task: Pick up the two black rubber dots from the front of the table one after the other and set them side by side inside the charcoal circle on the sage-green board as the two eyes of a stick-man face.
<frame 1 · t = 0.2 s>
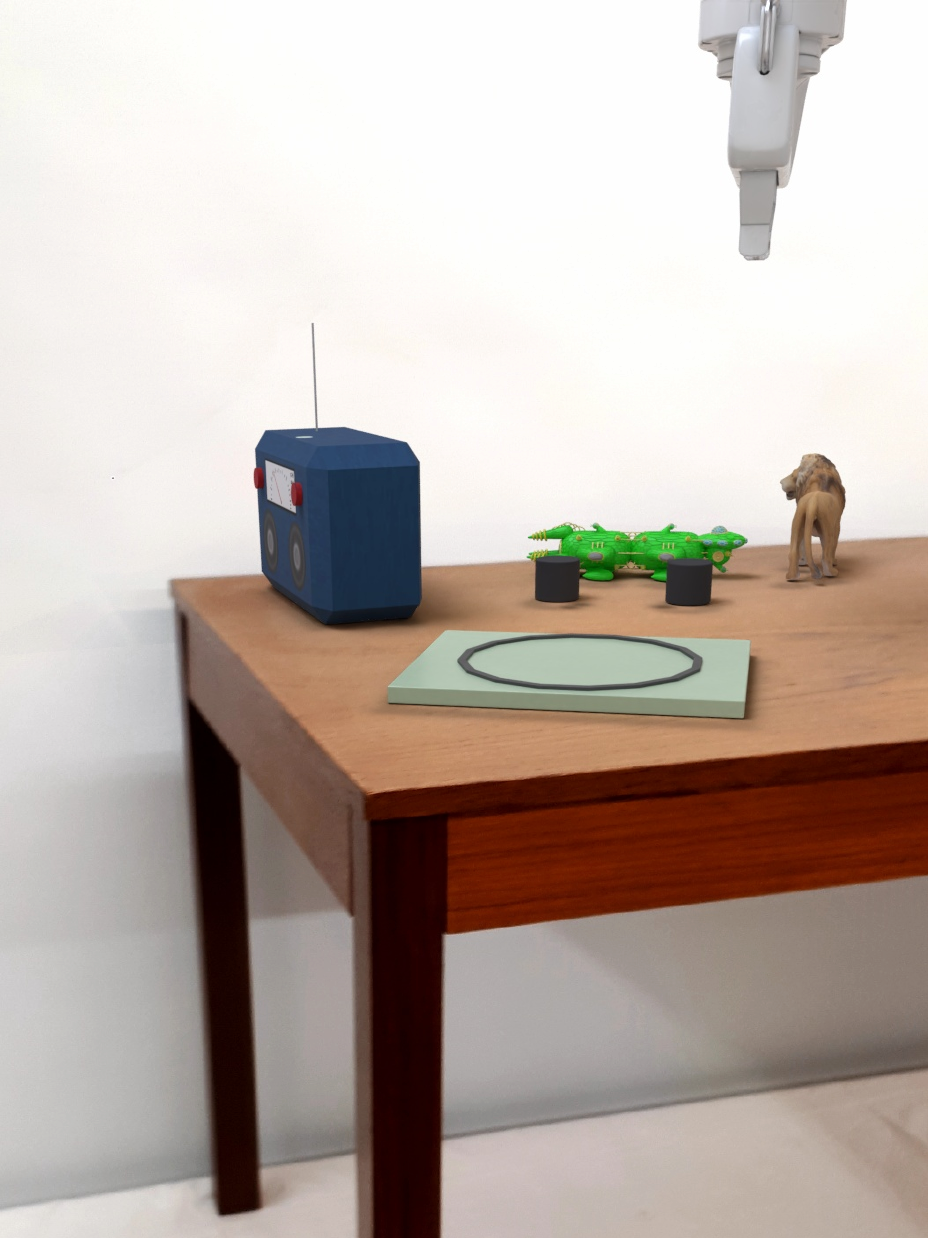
hand: (754, 259, 96), 24 cm above the table, tool pointing down, fingers open, 8 cm apart
radio: (335, 604, 114), on the table
eye dot 2: (687, 601, 112), on the table
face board: (579, 677, 89), on the table
green toy spaceship: (634, 578, 123), on the table
lion figurine: (806, 572, 124), on the table
eye dot 1: (556, 598, 114), on the table
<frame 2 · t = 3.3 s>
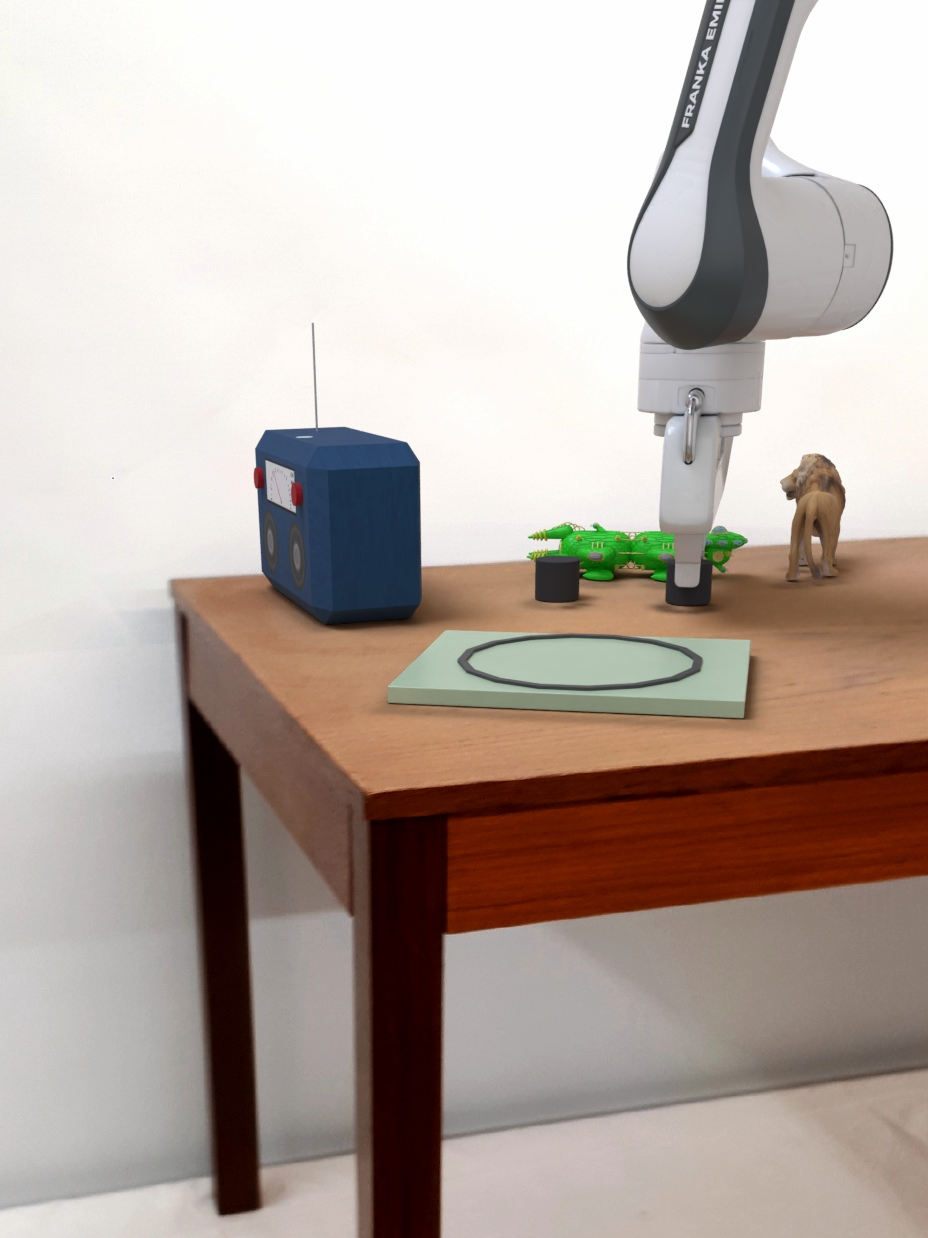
hand: (689, 580, 111), 2 cm above the table, tool pointing down, fingers closed on eye dot 2, 3 cm apart
eye dot 2: (687, 601, 112), on the table, touching gripper
everything else where it was.
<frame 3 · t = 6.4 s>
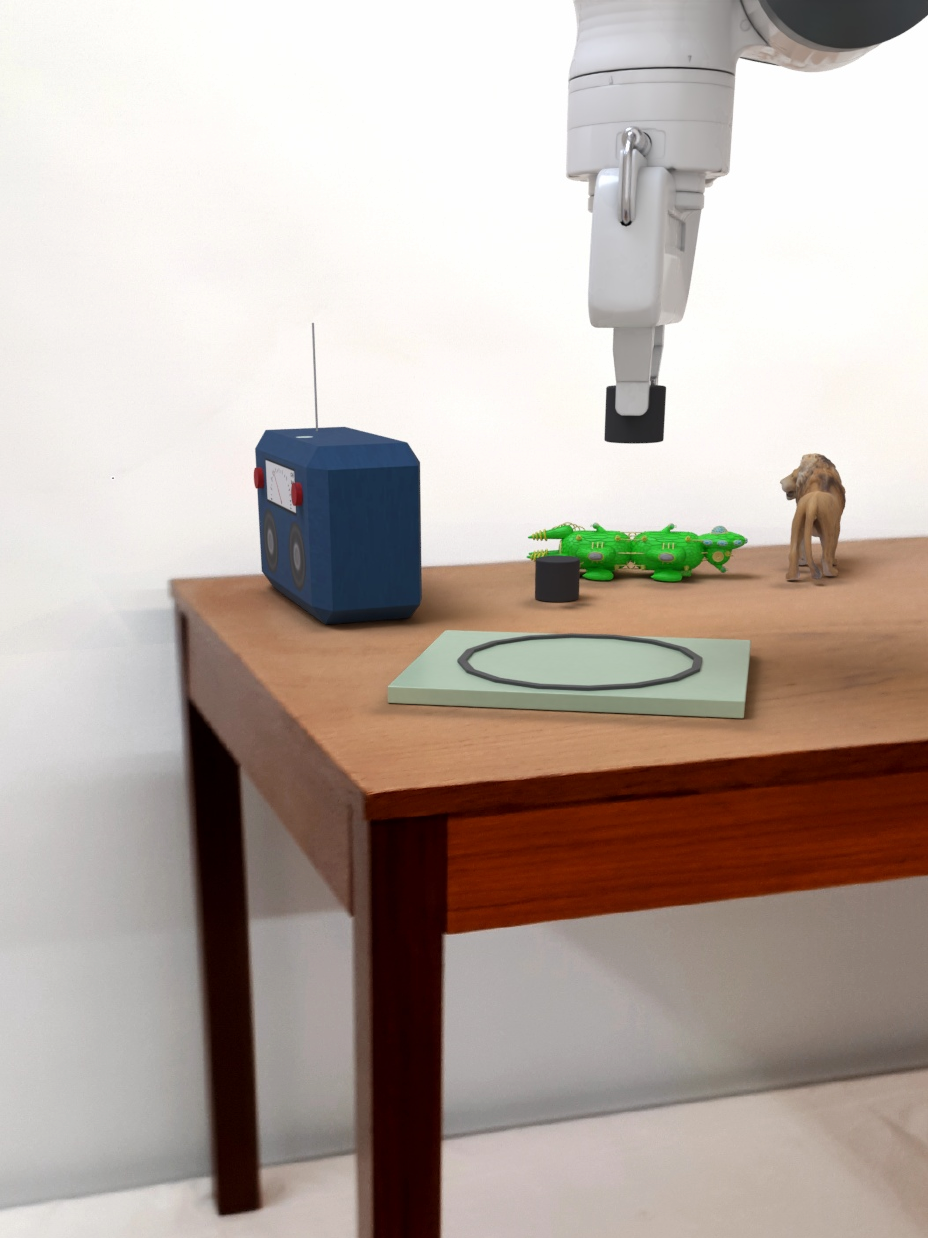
hand: (636, 412, 85), 15 cm above the table, tool pointing down, fingers closed on eye dot 2, 3 cm apart
eye dot 2: (633, 441, 85), point 14 cm above the table, touching gripper
everything else where it was.
when the fingers open (2 cm above the table, at t = 9.7 s): eye dot 2 stays where it is, resting on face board.
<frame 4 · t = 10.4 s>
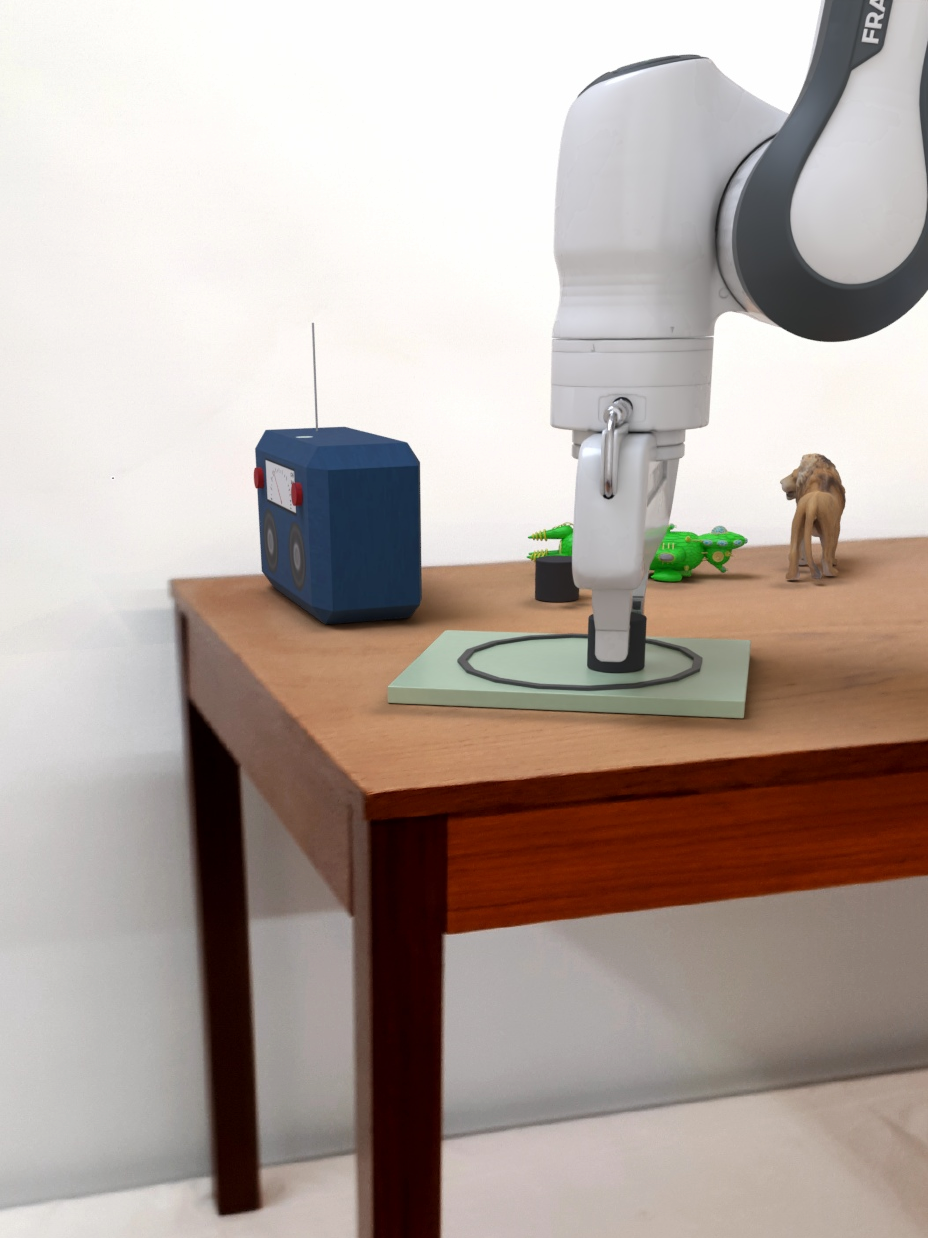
hand: (620, 641, 87), 2 cm above the table, tool pointing down, fingers open, 8 cm apart
eye dot 2: (615, 667, 87), point 1 cm above the table, touching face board
everything else where it was.
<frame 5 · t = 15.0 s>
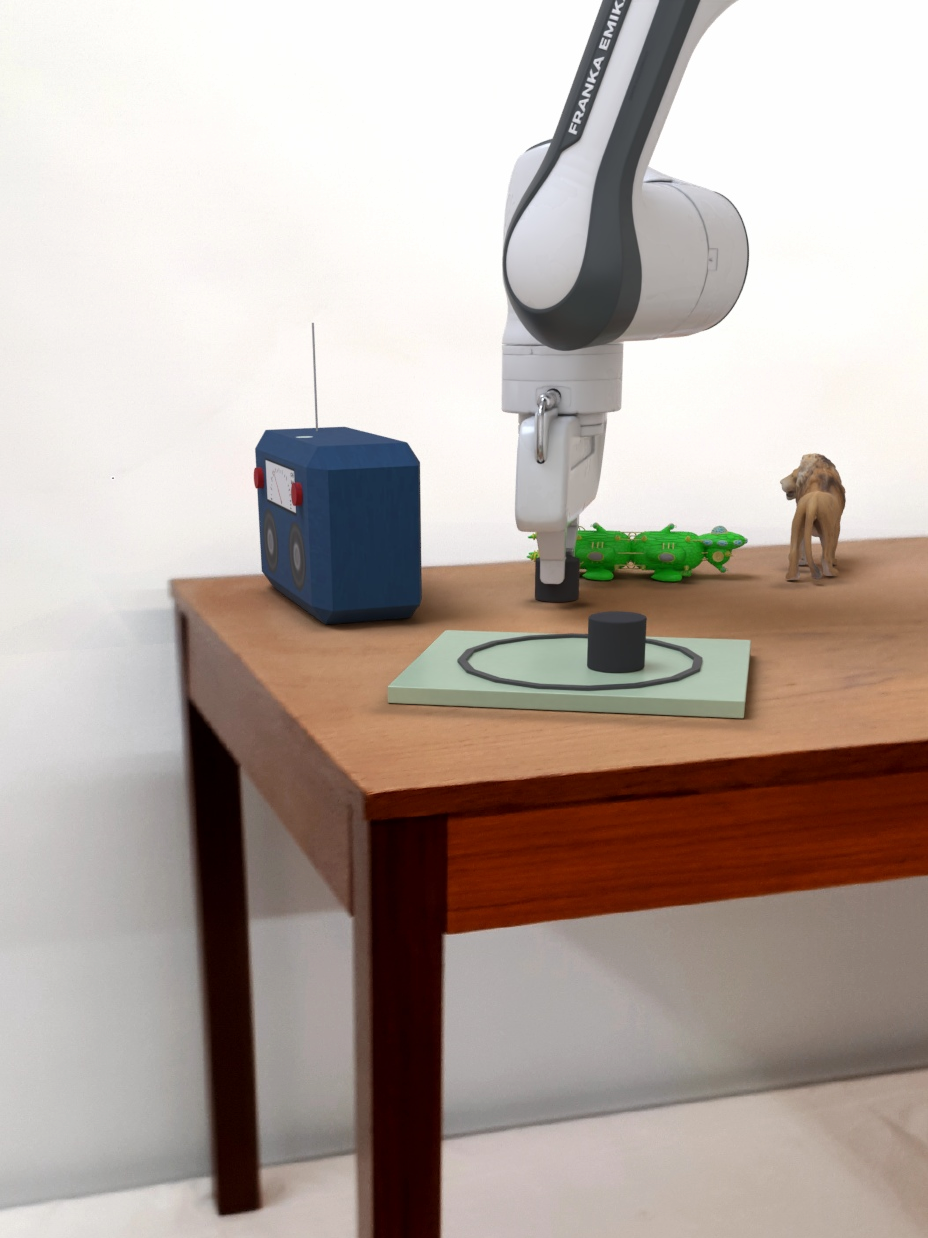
hand: (557, 577, 113), 2 cm above the table, tool pointing down, fingers closed on eye dot 1, 3 cm apart
eye dot 1: (556, 598, 114), on the table, touching gripper
everything else where it was.
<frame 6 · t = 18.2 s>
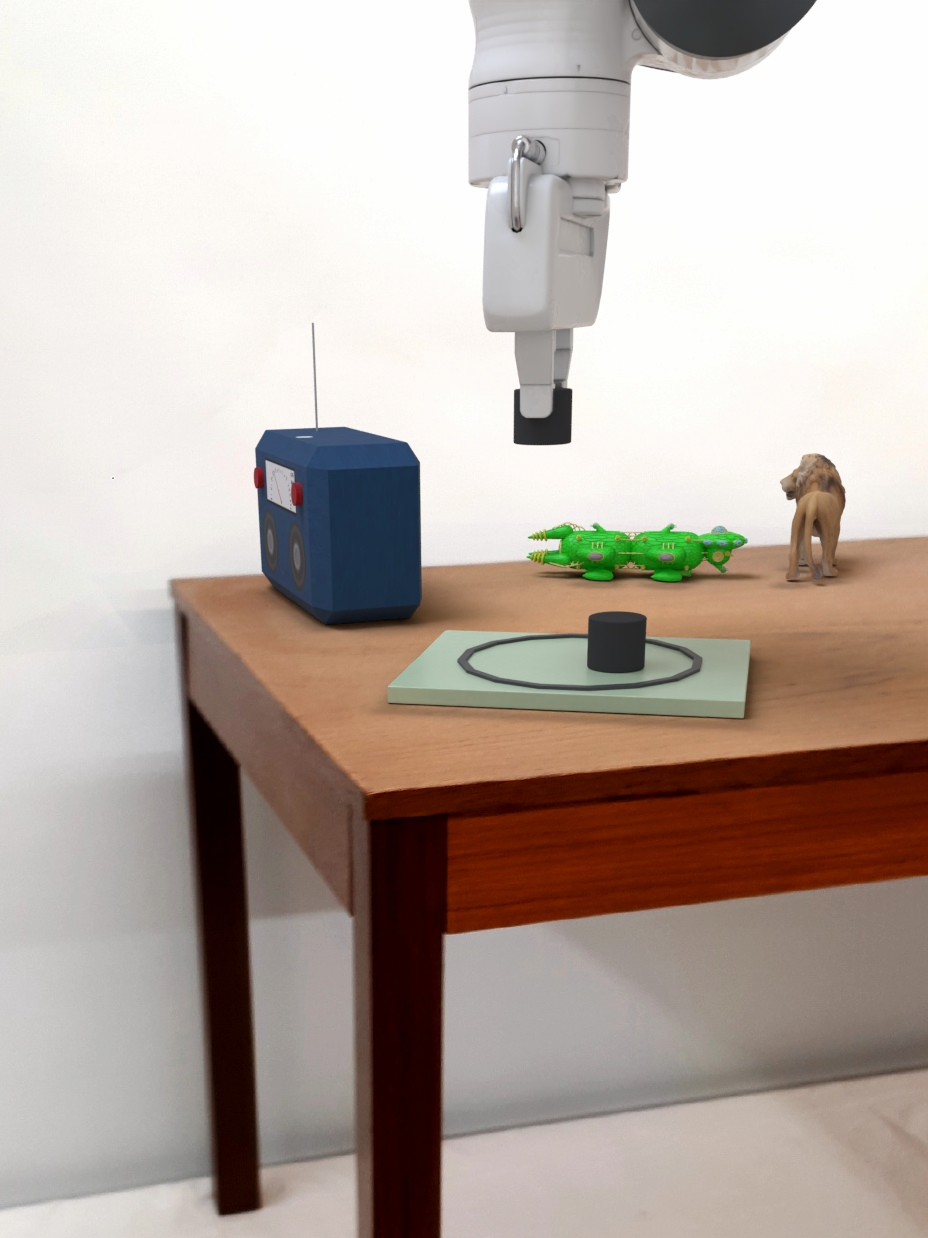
hand: (544, 414, 86), 15 cm above the table, tool pointing down, fingers closed on eye dot 1, 3 cm apart
eye dot 1: (542, 443, 87), point 13 cm above the table, touching gripper
everything else where it was.
when the fingers open (2 cm above the table, at t = 21.5 s): eye dot 1 stays where it is, resting on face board.
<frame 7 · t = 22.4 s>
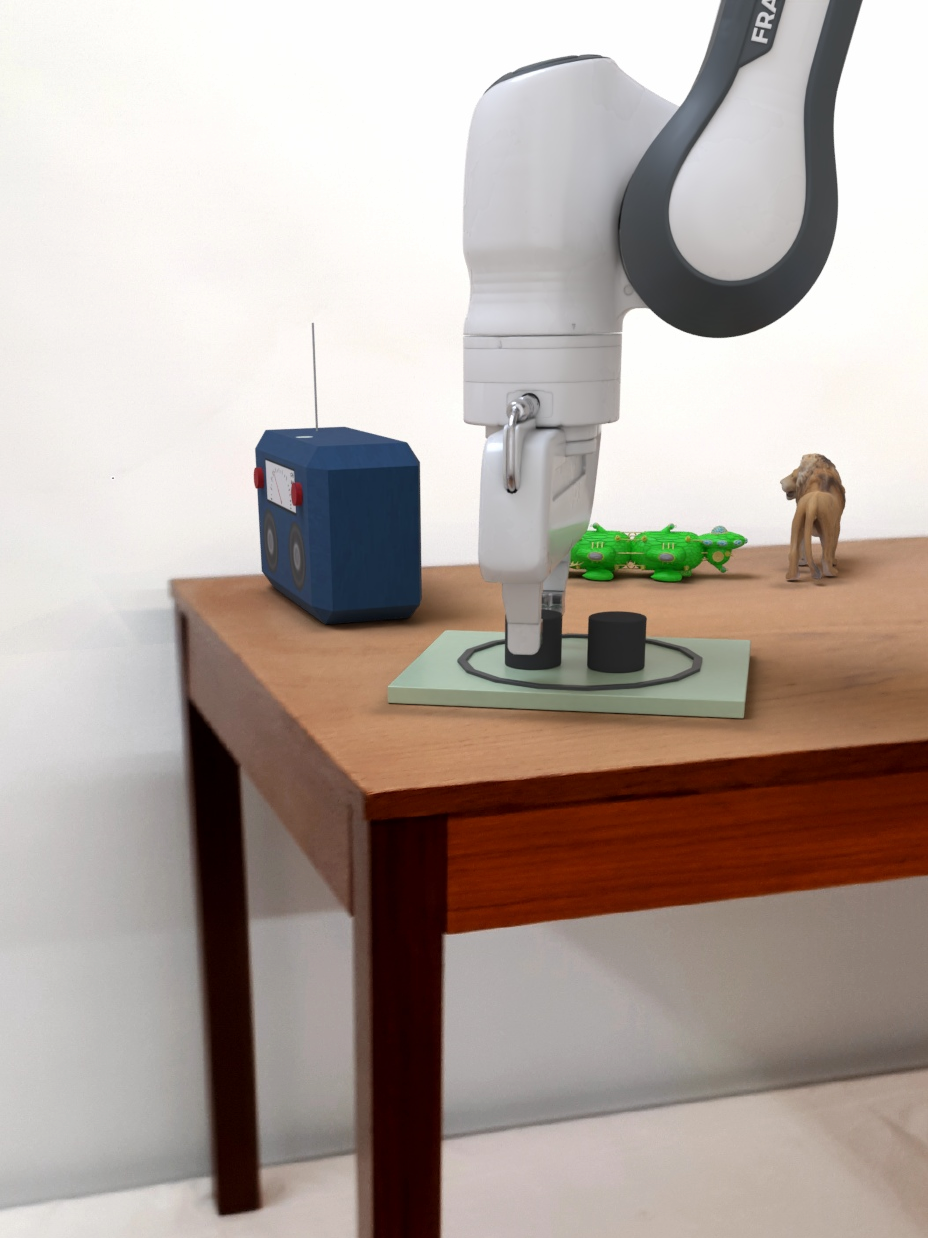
hand: (537, 635, 88), 3 cm above the table, tool pointing down, fingers open, 8 cm apart
eye dot 1: (532, 664, 88), point 1 cm above the table, touching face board
everything else where it was.
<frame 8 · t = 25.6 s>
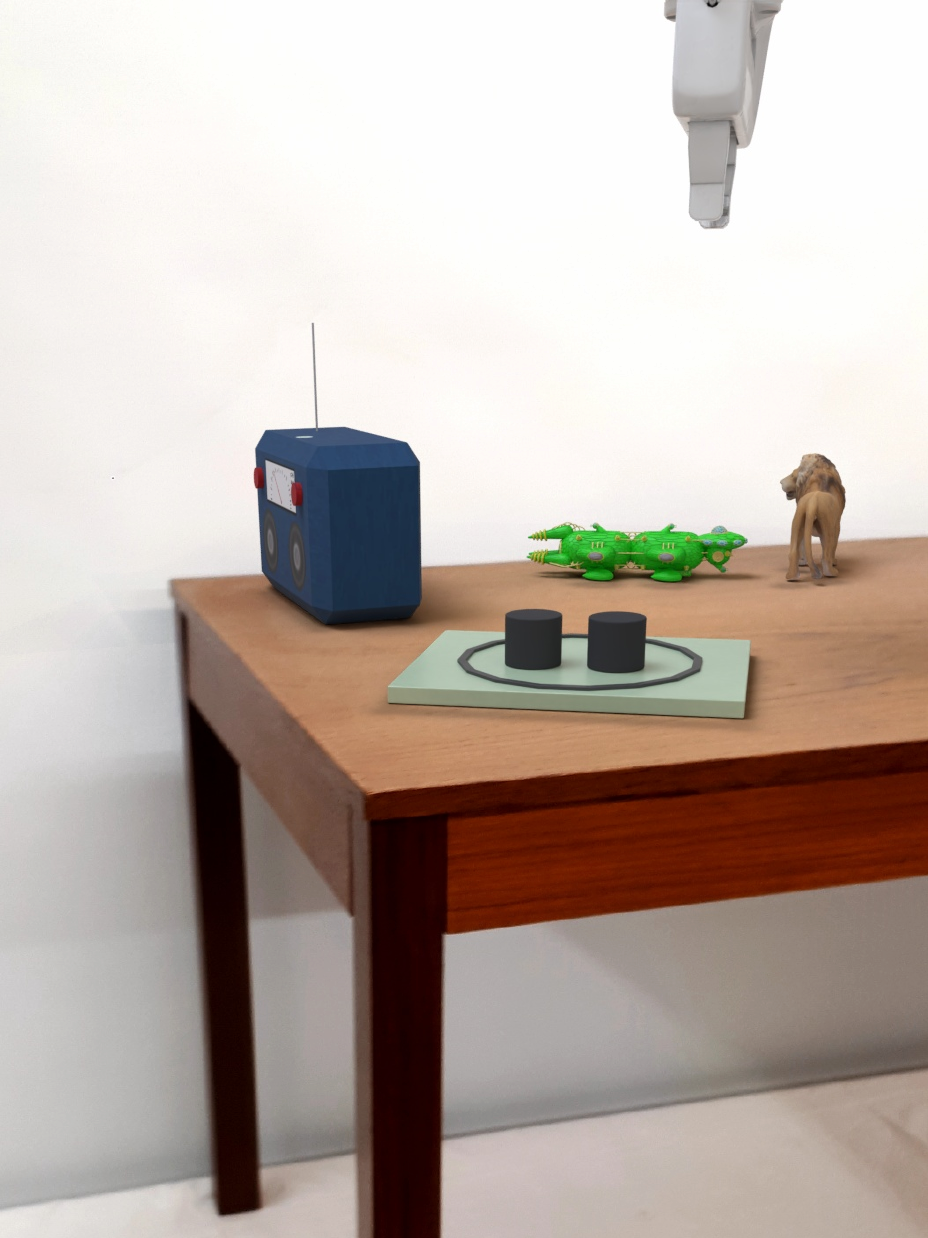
hand: (709, 225, 85), 25 cm above the table, tool pointing down, fingers open, 8 cm apart
nothing on the table moved.
at the end: eye dot 2 inside the target area on the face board (2.4 cm from its centre), point 1.0 cm above the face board's base; eye dot 1 inside the target area on the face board (2.8 cm from its centre), point 1.0 cm above the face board's base; eye dot 2 5.0 cm from the eye dot 1 (horizontally) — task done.
